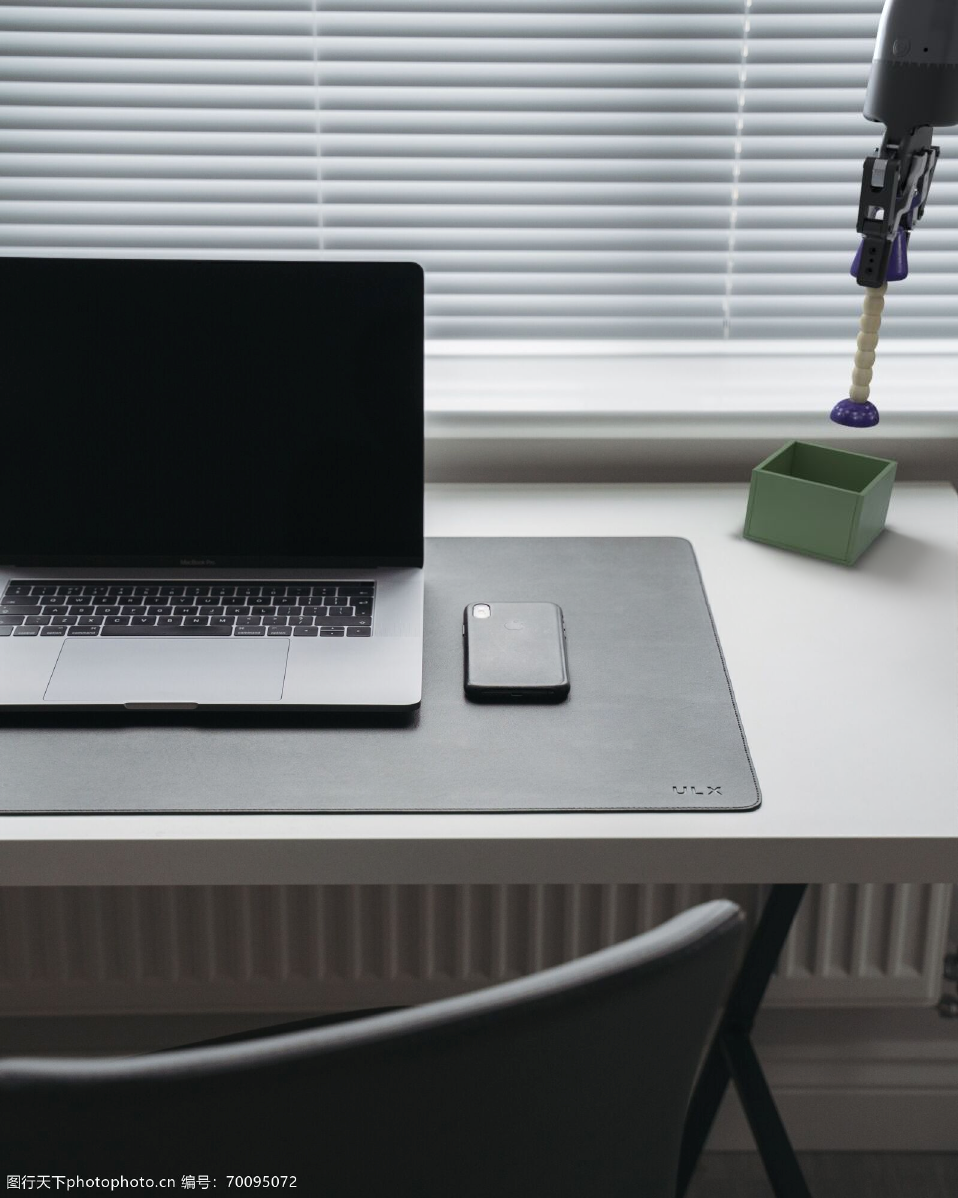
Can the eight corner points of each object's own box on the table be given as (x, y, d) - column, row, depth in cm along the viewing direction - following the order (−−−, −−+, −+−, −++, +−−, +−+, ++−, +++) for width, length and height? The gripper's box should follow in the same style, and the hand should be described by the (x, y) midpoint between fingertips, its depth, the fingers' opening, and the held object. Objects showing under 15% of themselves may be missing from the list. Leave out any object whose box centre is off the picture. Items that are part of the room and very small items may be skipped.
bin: (883, 529, 116) (898, 461, 112) (849, 567, 108) (864, 496, 104) (781, 504, 121) (792, 438, 118) (742, 538, 113) (752, 469, 110)
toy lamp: (826, 425, 97) (863, 229, 89) (820, 408, 101) (855, 219, 93) (882, 430, 97) (924, 233, 89) (873, 412, 101) (913, 222, 93)
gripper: (952, 61, 78) (900, 304, 86) (994, 56, 88) (945, 273, 97) (847, 55, 81) (807, 289, 90) (900, 51, 92) (859, 260, 100)
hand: (878, 279), depth 93 cm, fingers closed on toy lamp, 4 cm apart
